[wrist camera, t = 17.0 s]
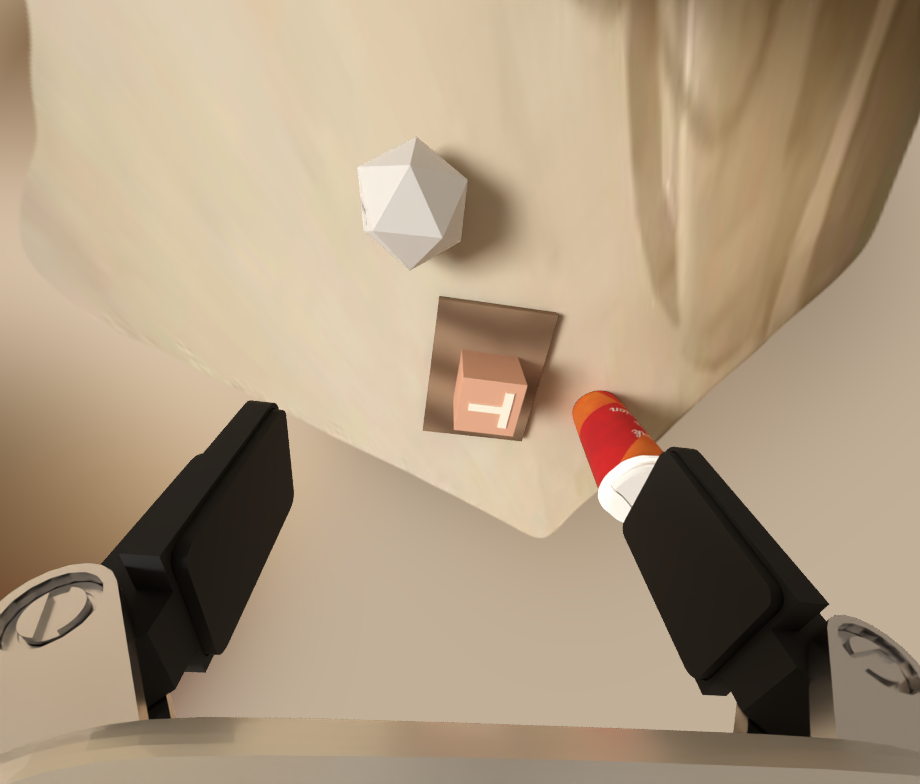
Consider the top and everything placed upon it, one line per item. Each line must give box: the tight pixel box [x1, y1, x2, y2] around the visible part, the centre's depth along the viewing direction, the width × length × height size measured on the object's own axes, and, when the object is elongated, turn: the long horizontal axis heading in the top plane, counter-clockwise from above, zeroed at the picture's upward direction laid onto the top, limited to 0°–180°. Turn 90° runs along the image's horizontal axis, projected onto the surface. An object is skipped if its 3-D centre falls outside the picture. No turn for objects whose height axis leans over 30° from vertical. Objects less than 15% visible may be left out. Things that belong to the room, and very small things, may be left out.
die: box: [357, 137, 468, 270], centre depth 30 cm, size 8×9×10 cm
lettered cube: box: [453, 350, 527, 437], centre depth 39 cm, size 6×6×6 cm
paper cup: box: [572, 391, 663, 523], centre depth 40 cm, size 8×8×14 cm
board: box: [423, 296, 558, 441], centre depth 42 cm, size 16×12×1 cm
